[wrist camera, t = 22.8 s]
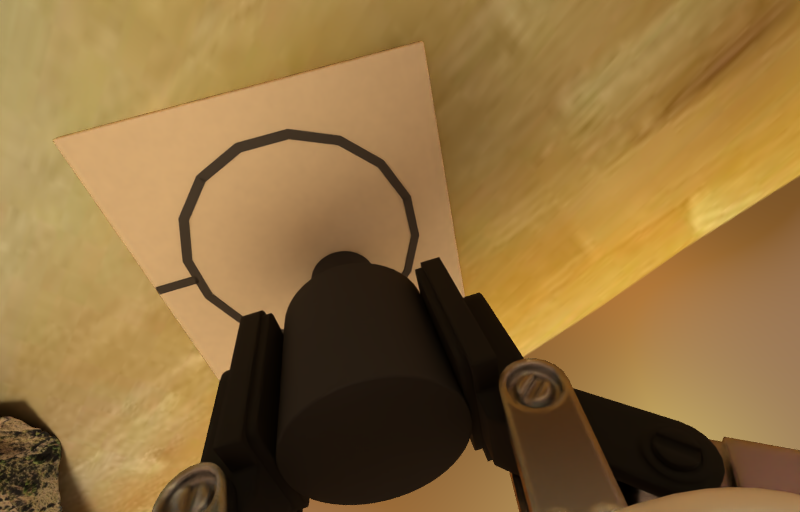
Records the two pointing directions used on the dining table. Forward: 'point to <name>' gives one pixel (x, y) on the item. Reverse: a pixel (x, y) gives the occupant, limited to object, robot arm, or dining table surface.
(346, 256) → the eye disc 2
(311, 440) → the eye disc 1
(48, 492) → the landscape model
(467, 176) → the dining table surface
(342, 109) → the drawing pad
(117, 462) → the dining table surface
